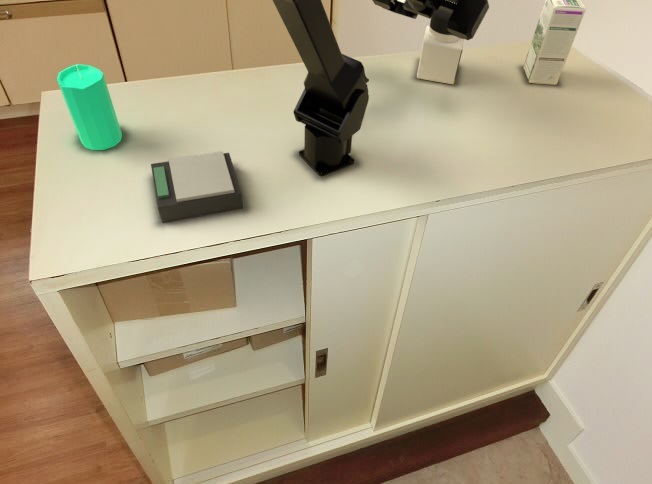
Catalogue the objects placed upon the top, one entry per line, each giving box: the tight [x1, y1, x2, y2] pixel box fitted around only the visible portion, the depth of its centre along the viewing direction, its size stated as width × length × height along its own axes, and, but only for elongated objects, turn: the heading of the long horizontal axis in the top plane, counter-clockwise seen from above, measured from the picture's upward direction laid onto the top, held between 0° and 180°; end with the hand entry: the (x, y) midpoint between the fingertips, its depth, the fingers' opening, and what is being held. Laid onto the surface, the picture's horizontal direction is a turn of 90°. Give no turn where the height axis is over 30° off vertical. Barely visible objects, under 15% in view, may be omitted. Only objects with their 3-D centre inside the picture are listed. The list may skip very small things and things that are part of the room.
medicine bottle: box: [416, 9, 465, 85], centre depth 96 cm, size 7×7×12 cm
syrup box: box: [522, 0, 587, 86], centre depth 97 cm, size 6×6×14 cm
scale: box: [150, 151, 244, 223], centre depth 74 cm, size 11×9×3 cm
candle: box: [56, 63, 123, 151], centre depth 77 cm, size 6×6×12 cm
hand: (438, 24), depth 91 cm, fingers open, 9 cm apart
